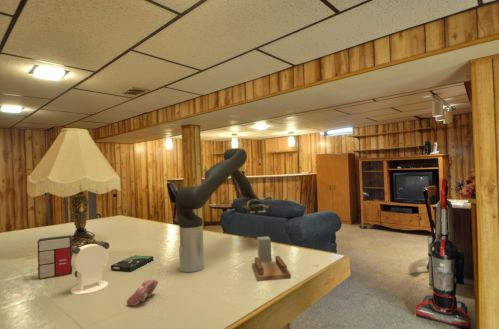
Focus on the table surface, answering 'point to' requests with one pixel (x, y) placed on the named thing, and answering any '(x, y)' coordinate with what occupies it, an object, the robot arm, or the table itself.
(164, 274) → the table surface
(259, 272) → the walnut stand
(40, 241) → the grey and red box
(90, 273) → the white rounded upright piece
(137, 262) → the disk drive
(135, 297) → the pink lumpy piece
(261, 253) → the block
